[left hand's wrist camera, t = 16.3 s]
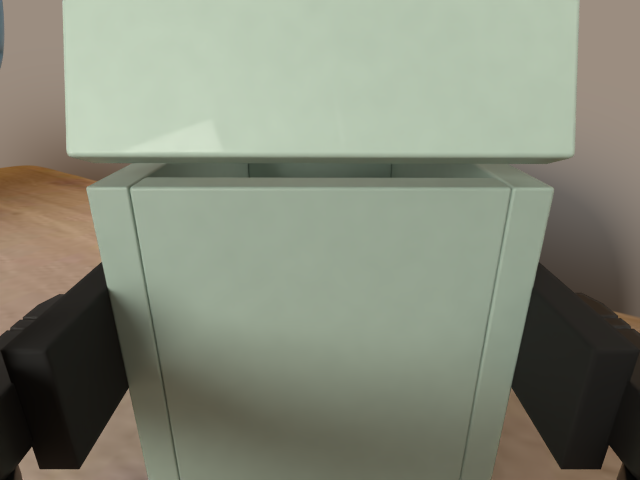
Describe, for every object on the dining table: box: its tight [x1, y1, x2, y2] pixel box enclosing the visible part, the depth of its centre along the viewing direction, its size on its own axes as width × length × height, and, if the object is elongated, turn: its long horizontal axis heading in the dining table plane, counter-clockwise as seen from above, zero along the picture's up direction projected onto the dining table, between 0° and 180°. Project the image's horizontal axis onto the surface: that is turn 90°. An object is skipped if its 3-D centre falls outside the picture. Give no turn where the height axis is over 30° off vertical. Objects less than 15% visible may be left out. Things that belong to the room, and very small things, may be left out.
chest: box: [87, 163, 554, 480], centre depth 17 cm, size 15×9×10 cm, turn 0°
